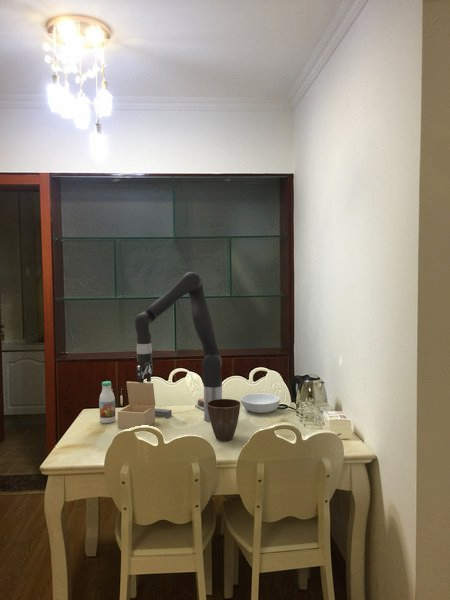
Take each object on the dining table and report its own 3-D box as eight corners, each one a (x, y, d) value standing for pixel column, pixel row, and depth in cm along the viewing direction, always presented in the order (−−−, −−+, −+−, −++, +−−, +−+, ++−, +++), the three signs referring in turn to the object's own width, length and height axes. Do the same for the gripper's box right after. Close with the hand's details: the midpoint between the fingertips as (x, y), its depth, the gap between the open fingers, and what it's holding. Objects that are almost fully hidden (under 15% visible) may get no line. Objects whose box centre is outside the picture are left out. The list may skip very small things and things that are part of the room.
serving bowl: (233, 412, 254) (233, 399, 254) (254, 403, 272) (254, 391, 271) (267, 419, 243) (267, 405, 242) (287, 408, 260) (287, 396, 259)
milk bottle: (96, 421, 243) (95, 382, 242) (110, 417, 249) (108, 379, 247) (105, 424, 238) (104, 384, 237) (118, 420, 244) (117, 381, 242)
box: (155, 422, 240) (154, 406, 240) (144, 430, 229) (144, 413, 228) (129, 420, 244) (129, 404, 244) (117, 427, 233) (117, 411, 232)
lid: (154, 406, 240) (155, 405, 241) (152, 383, 237) (153, 383, 238) (129, 404, 244) (130, 403, 245) (126, 382, 241) (127, 381, 242)
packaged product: (194, 399, 266) (209, 396, 271) (194, 407, 266) (209, 404, 272) (211, 406, 251) (227, 403, 256) (211, 415, 251) (227, 412, 257)
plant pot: (207, 433, 223) (206, 399, 222) (239, 432, 224) (238, 398, 223) (208, 445, 208) (207, 408, 207) (242, 443, 209) (242, 407, 208)
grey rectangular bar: (171, 416, 250) (171, 409, 250) (168, 418, 247) (168, 412, 246) (147, 414, 255) (147, 407, 255) (143, 416, 251) (143, 409, 251)
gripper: (144, 354, 237) (145, 387, 238) (157, 349, 250) (157, 380, 251) (131, 354, 239) (131, 386, 240) (143, 349, 252) (144, 380, 254)
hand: (145, 383), depth 246 cm, fingers open, 8 cm apart
